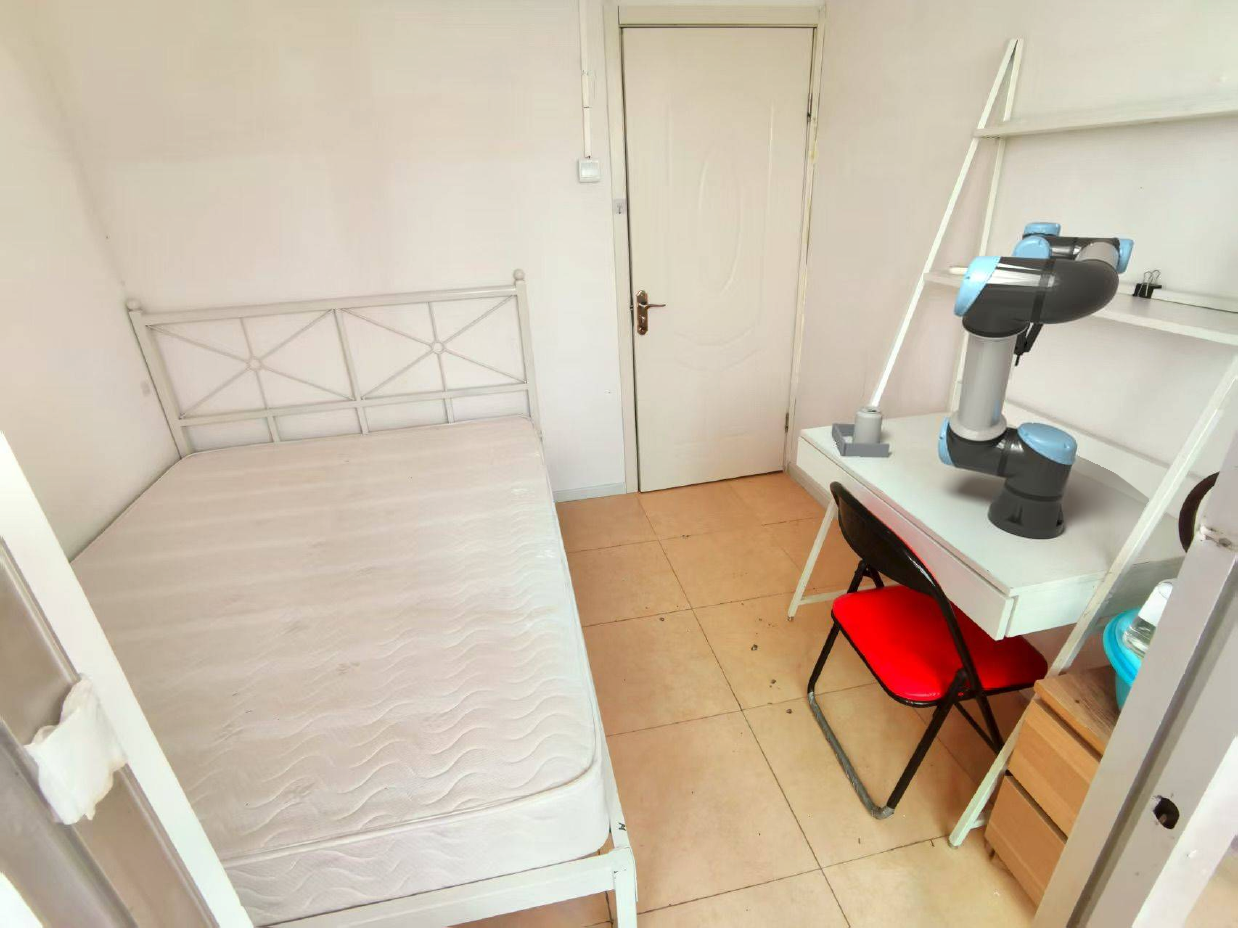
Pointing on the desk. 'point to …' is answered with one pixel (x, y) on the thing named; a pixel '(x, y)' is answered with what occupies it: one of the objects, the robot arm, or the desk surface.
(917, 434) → the desk surface
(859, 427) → the can
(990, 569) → the desk surface
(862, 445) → the box
